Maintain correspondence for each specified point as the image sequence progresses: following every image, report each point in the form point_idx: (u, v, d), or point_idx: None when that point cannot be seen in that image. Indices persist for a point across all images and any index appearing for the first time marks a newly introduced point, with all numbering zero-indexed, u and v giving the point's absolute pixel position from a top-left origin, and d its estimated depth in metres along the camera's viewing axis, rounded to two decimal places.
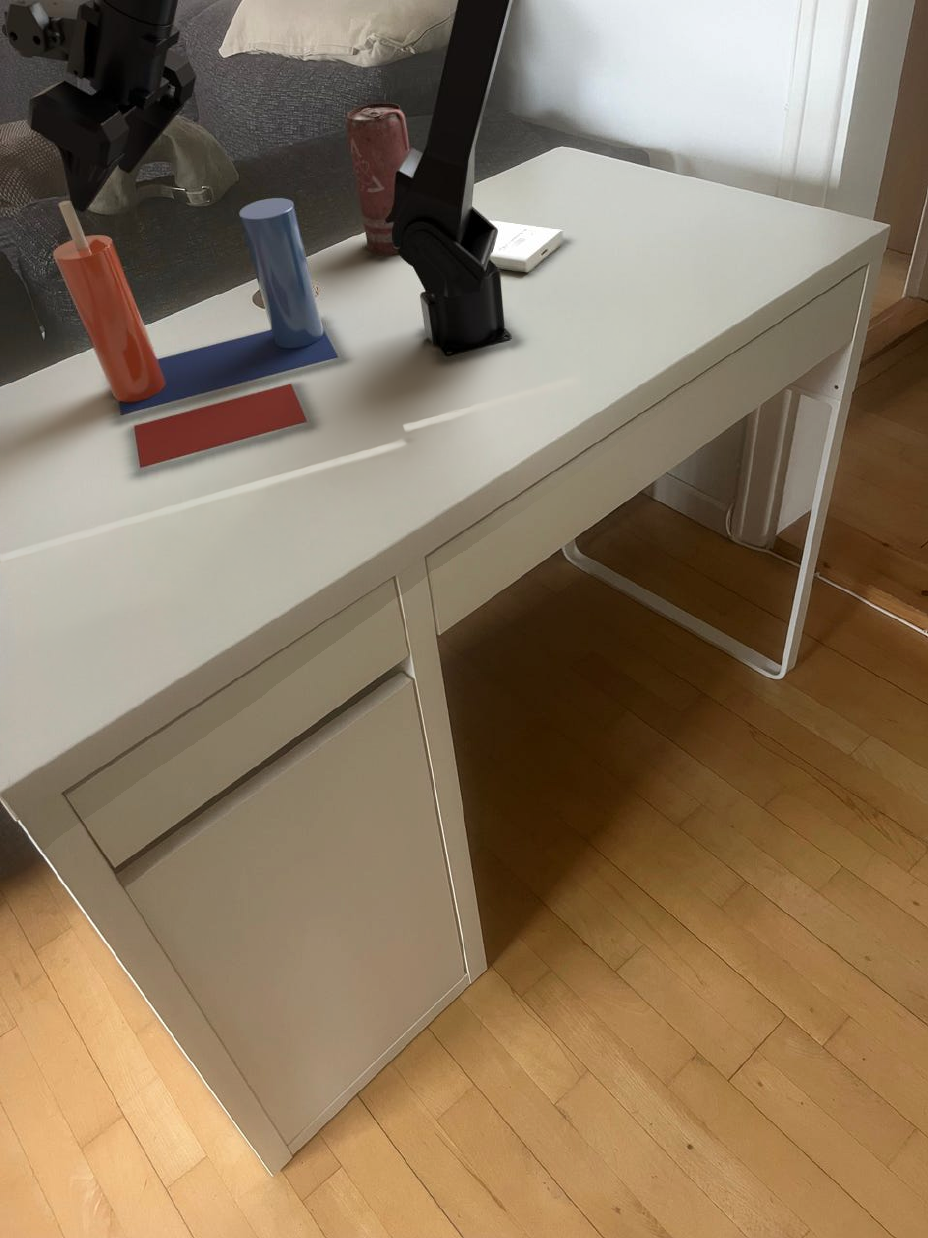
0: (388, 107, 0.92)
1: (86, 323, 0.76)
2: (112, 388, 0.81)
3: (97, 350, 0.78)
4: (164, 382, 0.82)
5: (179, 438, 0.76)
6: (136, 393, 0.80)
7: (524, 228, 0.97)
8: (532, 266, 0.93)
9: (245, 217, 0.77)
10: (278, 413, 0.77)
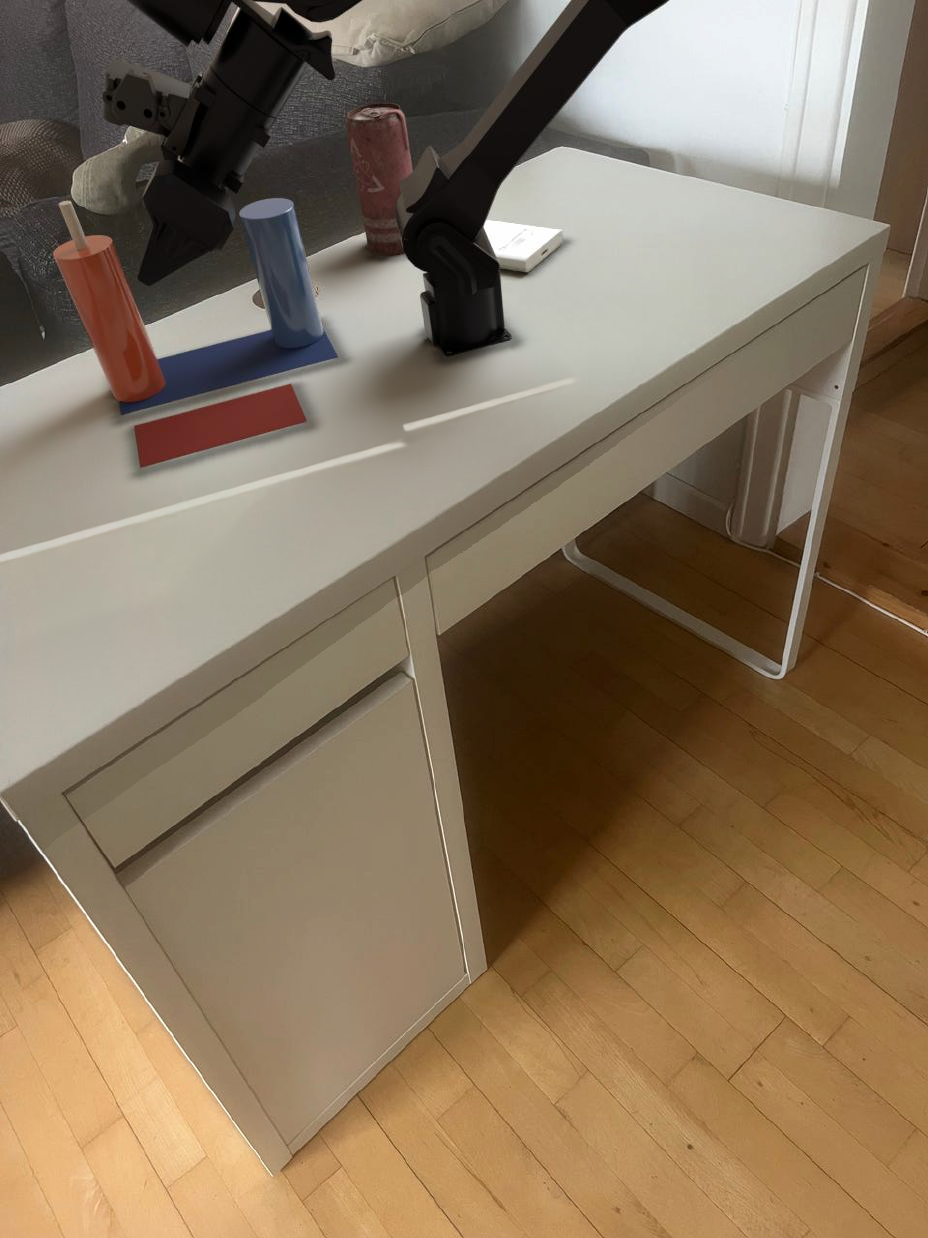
0: (388, 107, 0.92)
1: (86, 323, 0.76)
2: (112, 388, 0.81)
3: (97, 350, 0.78)
4: (164, 382, 0.82)
5: (179, 438, 0.76)
6: (136, 393, 0.80)
7: (524, 228, 0.97)
8: (533, 266, 0.93)
9: (245, 217, 0.77)
10: (278, 413, 0.77)
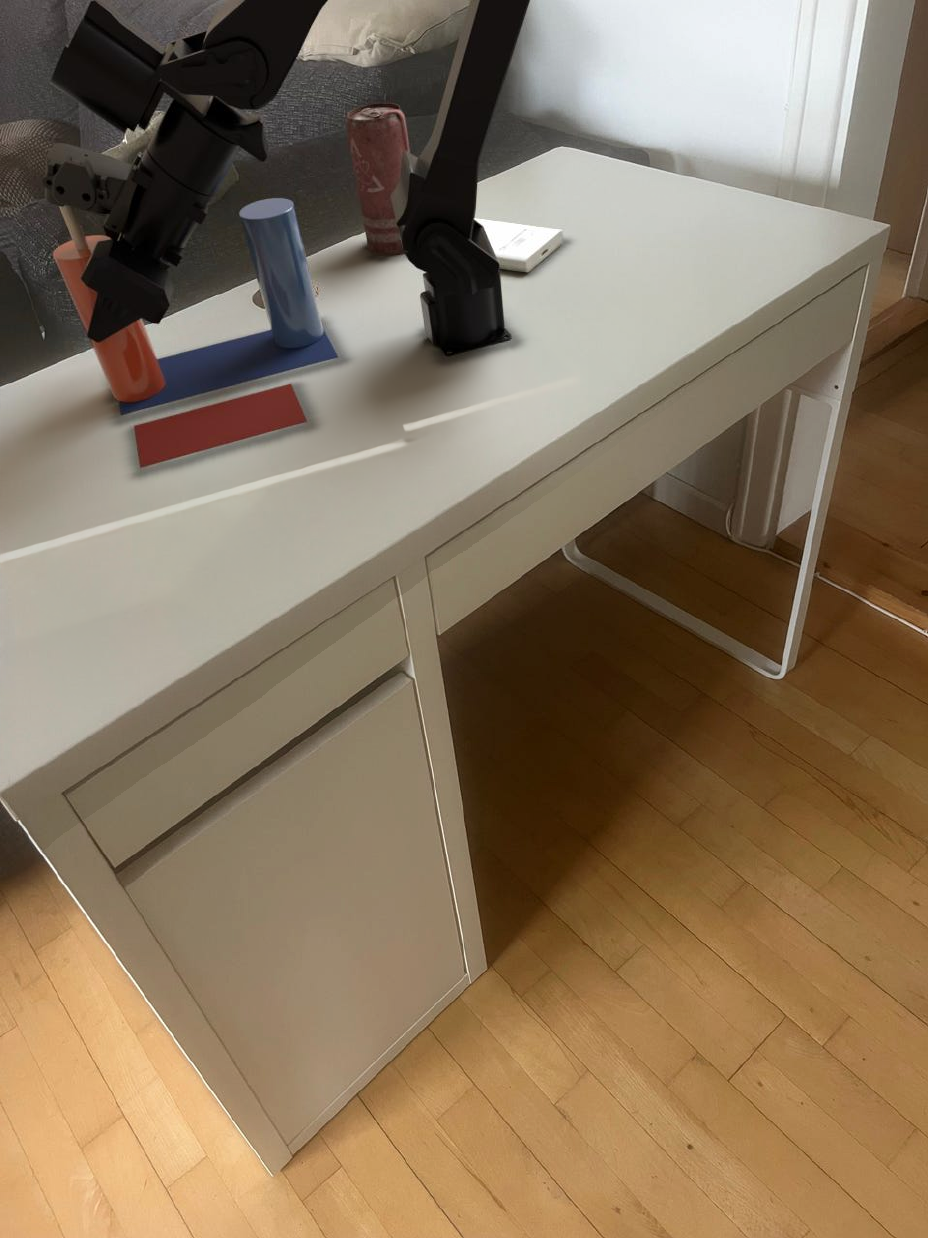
0: (388, 107, 0.92)
1: (85, 324, 0.76)
2: (112, 389, 0.81)
3: (97, 350, 0.78)
4: (164, 382, 0.82)
5: (179, 438, 0.76)
6: (136, 393, 0.80)
7: (524, 228, 0.97)
8: (533, 266, 0.93)
9: (245, 217, 0.77)
10: (278, 413, 0.77)
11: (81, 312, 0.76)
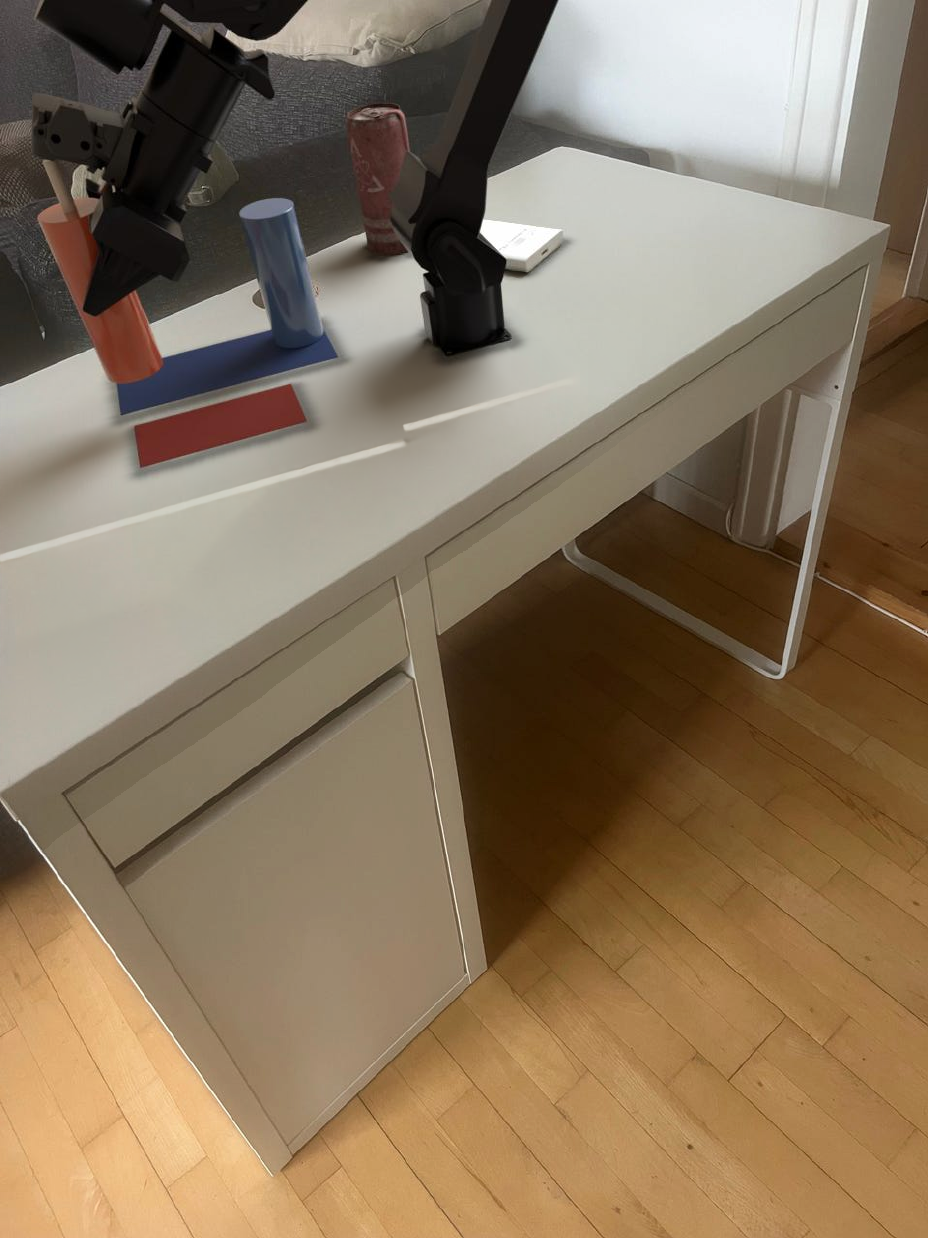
0: (388, 107, 0.92)
1: (78, 297, 0.69)
2: (108, 370, 0.73)
3: (91, 326, 0.71)
4: (162, 359, 0.76)
5: (179, 438, 0.76)
6: (136, 372, 0.73)
7: (524, 228, 0.97)
8: (533, 266, 0.93)
9: (245, 217, 0.77)
10: (278, 413, 0.77)
11: (73, 284, 0.68)
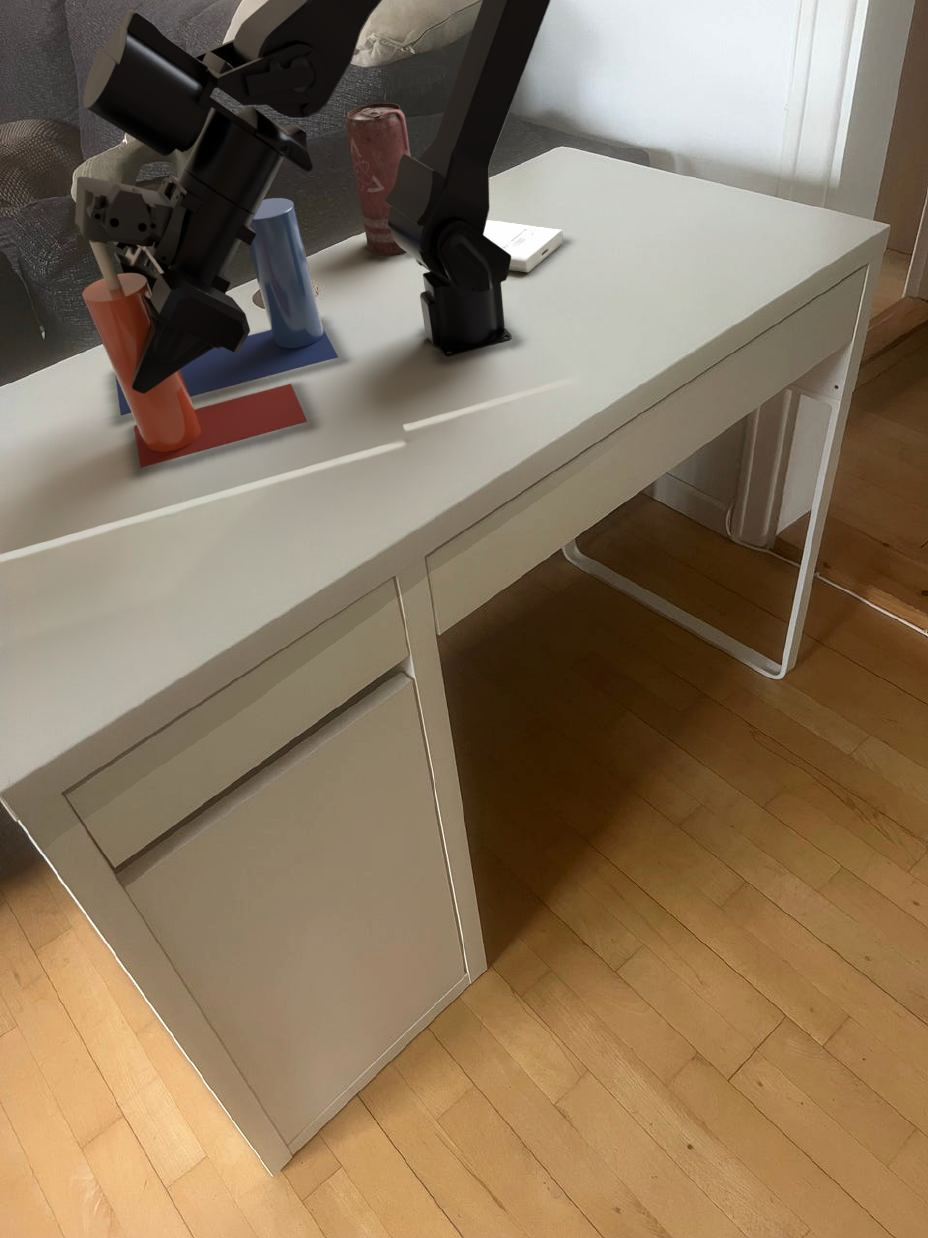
0: (388, 107, 0.92)
1: (124, 371, 0.69)
2: (151, 439, 0.74)
3: (136, 399, 0.71)
4: (199, 424, 0.76)
5: None
6: (180, 439, 0.74)
7: (524, 228, 0.97)
8: (533, 266, 0.93)
9: None
10: (278, 413, 0.77)
11: (120, 358, 0.69)
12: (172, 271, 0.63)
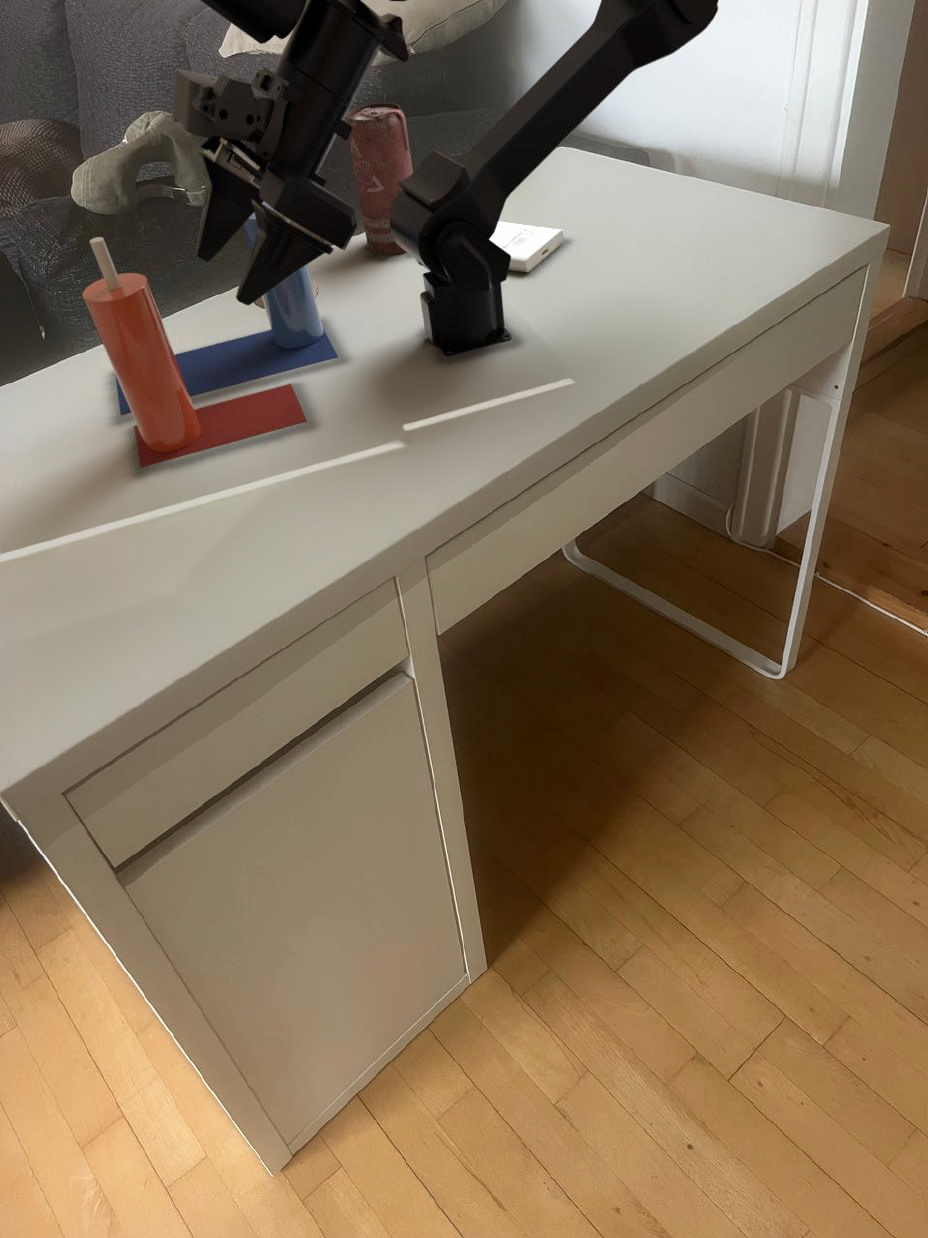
0: (388, 107, 0.92)
1: (124, 371, 0.69)
2: (151, 439, 0.74)
3: (136, 399, 0.71)
4: (199, 424, 0.76)
5: None
6: (180, 439, 0.74)
7: (524, 228, 0.97)
8: (533, 265, 0.93)
9: None
10: (278, 413, 0.77)
11: (120, 358, 0.69)
12: (279, 165, 0.62)
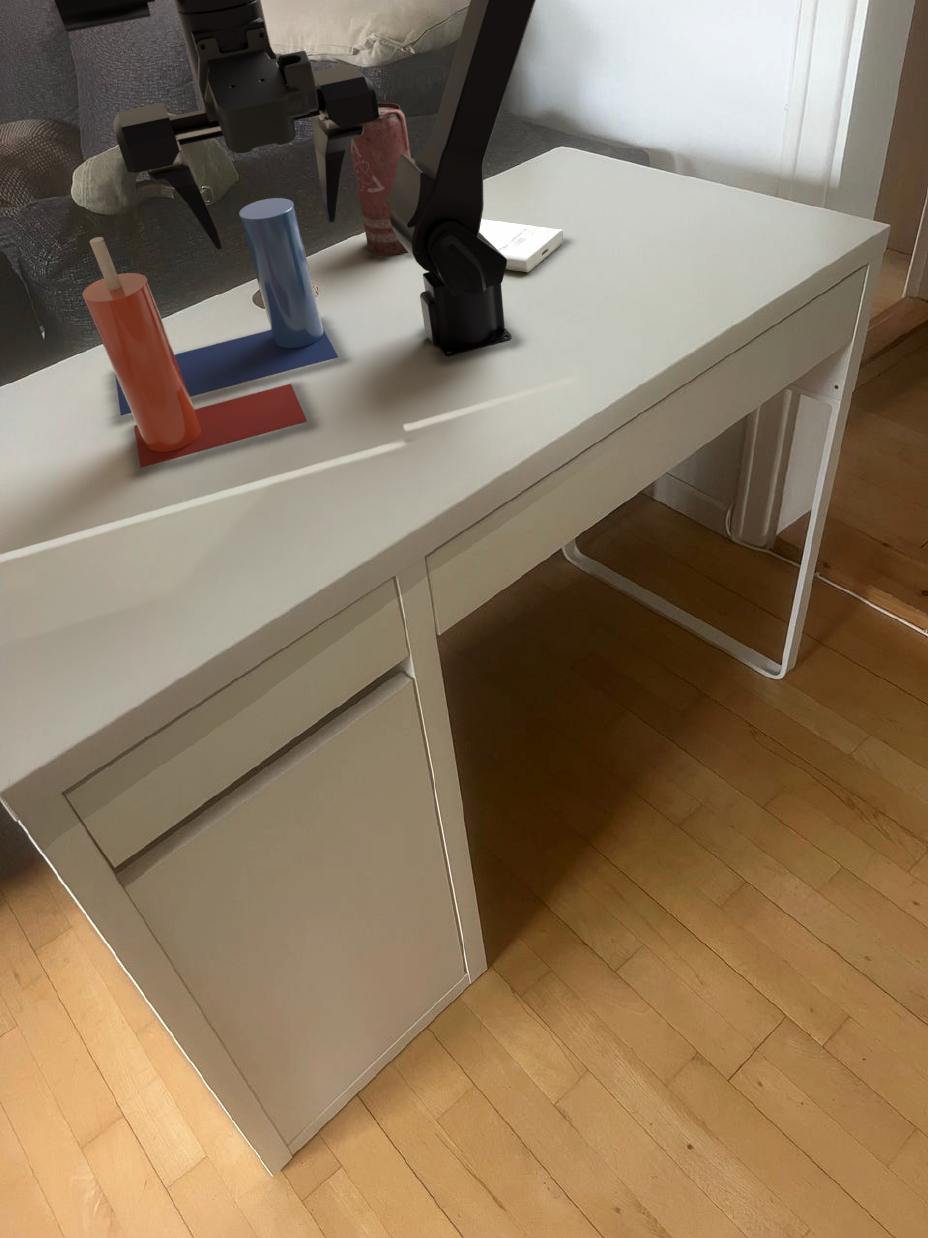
0: (388, 107, 0.92)
1: (124, 371, 0.69)
2: (151, 439, 0.74)
3: (136, 399, 0.71)
4: (199, 424, 0.76)
5: None
6: (180, 439, 0.74)
7: (524, 228, 0.97)
8: (533, 266, 0.93)
9: (245, 217, 0.77)
10: (278, 413, 0.77)
11: (120, 358, 0.69)
12: (325, 90, 0.65)
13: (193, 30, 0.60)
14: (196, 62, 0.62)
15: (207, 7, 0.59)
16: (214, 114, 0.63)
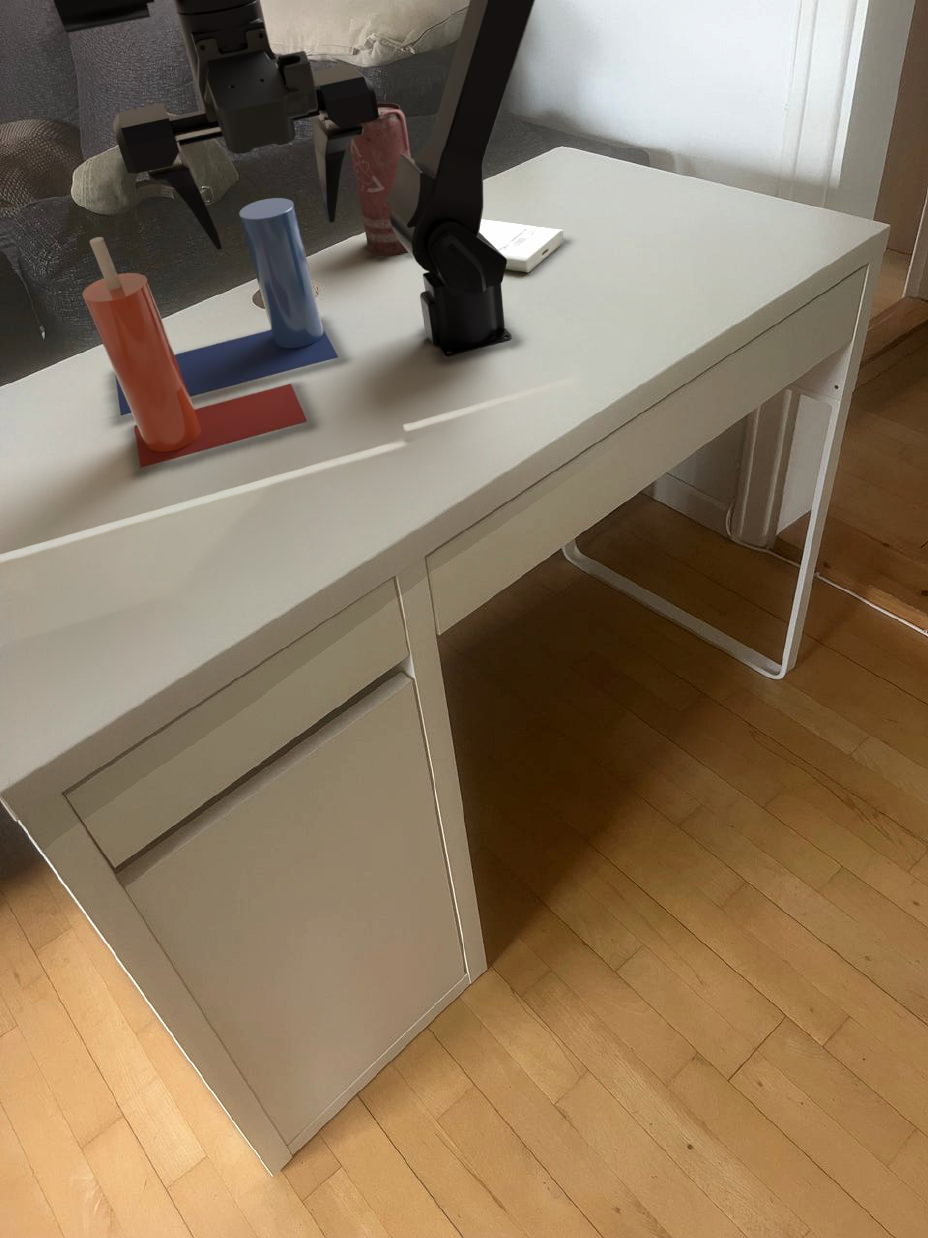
0: (388, 107, 0.92)
1: (124, 371, 0.69)
2: (151, 439, 0.74)
3: (136, 399, 0.71)
4: (199, 424, 0.76)
5: None
6: (180, 439, 0.74)
7: (524, 228, 0.97)
8: (533, 266, 0.93)
9: (245, 217, 0.77)
10: (278, 413, 0.77)
11: (120, 358, 0.69)
12: (325, 90, 0.65)
13: (193, 31, 0.60)
14: (196, 63, 0.62)
15: (206, 8, 0.59)
16: (214, 115, 0.63)
